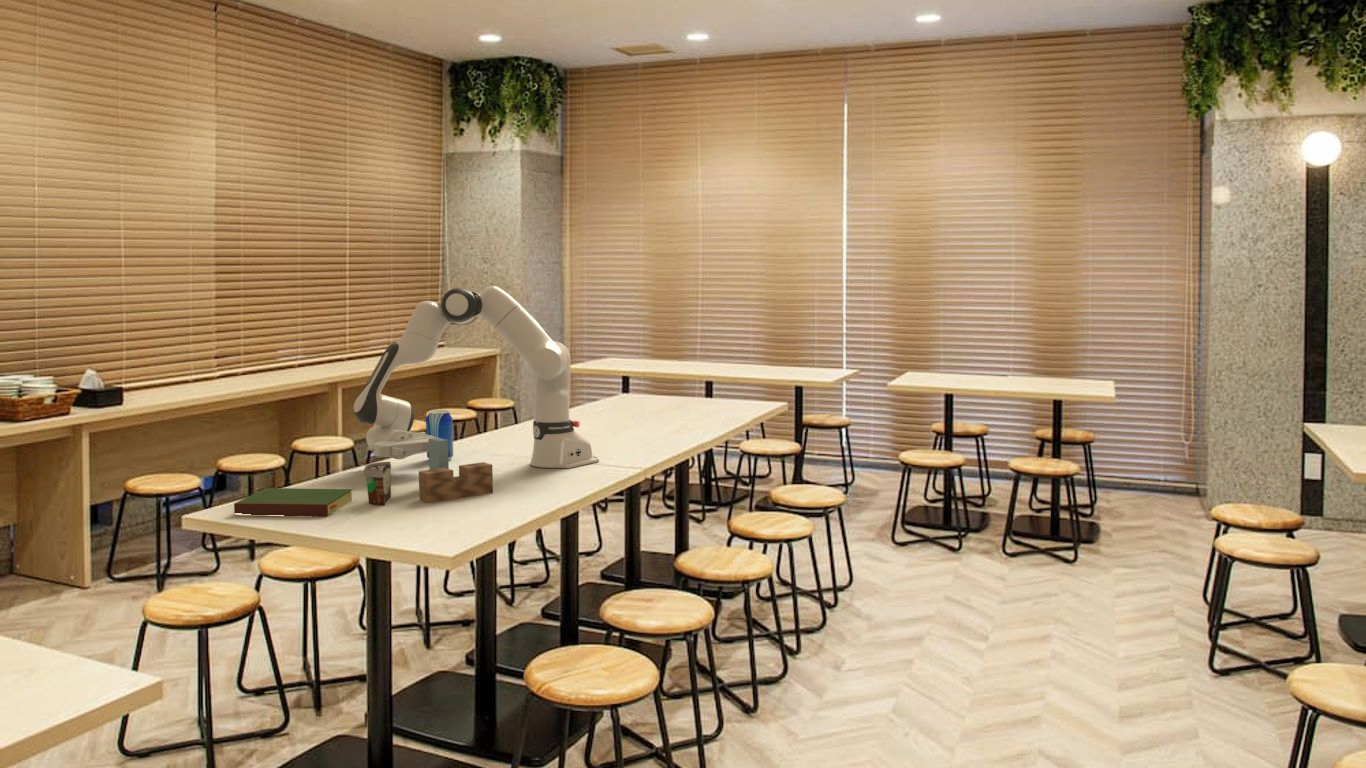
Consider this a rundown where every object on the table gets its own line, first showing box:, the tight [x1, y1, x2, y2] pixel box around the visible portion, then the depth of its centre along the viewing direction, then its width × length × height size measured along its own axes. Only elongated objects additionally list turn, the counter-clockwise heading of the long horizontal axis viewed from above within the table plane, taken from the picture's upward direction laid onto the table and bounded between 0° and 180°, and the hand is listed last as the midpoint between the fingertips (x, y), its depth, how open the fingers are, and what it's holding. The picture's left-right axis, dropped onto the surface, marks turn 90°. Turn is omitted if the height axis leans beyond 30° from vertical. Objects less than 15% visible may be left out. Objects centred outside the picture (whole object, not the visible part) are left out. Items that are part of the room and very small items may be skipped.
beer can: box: [425, 409, 454, 462], centre depth 352 cm, size 8×8×16 cm
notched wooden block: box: [418, 461, 494, 504], centre depth 299 cm, size 20×5×8 cm, turn 130°
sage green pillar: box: [428, 438, 450, 470], centre depth 311 cm, size 3×6×14 cm, turn 40°
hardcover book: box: [233, 487, 354, 518], centre depth 286 cm, size 25×19×4 cm
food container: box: [363, 461, 392, 507], centre depth 292 cm, size 12×6×10 cm, turn 5°
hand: (418, 450), depth 320 cm, fingers open, 8 cm apart
